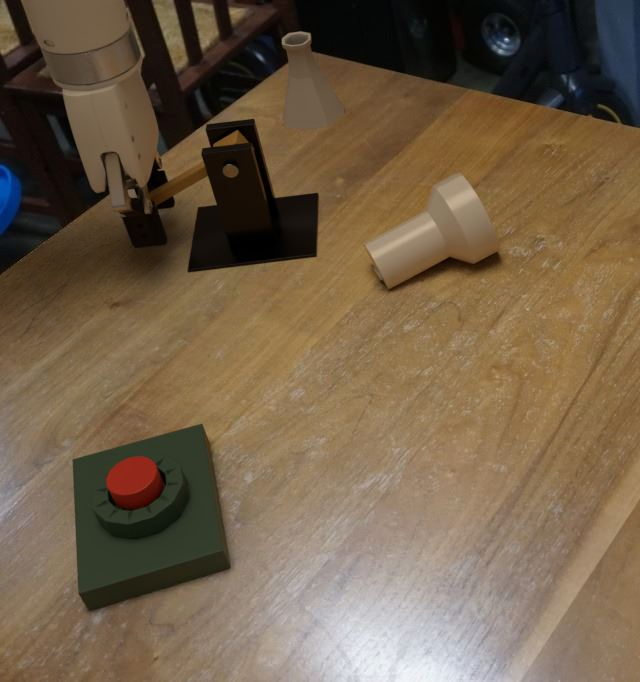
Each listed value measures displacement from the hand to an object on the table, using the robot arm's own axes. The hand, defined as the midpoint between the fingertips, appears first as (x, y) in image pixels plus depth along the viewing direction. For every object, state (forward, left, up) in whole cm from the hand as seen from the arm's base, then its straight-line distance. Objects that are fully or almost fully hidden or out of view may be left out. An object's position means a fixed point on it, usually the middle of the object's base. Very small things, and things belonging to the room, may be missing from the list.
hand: (154, 224), depth 104 cm
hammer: (+3, +4, +4) cm, 6 cm away
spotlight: (+21, +17, -3) cm, 28 cm away
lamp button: (+29, -17, 0) cm, 34 cm away
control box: (+29, -17, -3) cm, 34 cm away
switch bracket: (+5, +7, -3) cm, 10 cm away
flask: (-9, +23, -3) cm, 25 cm away
